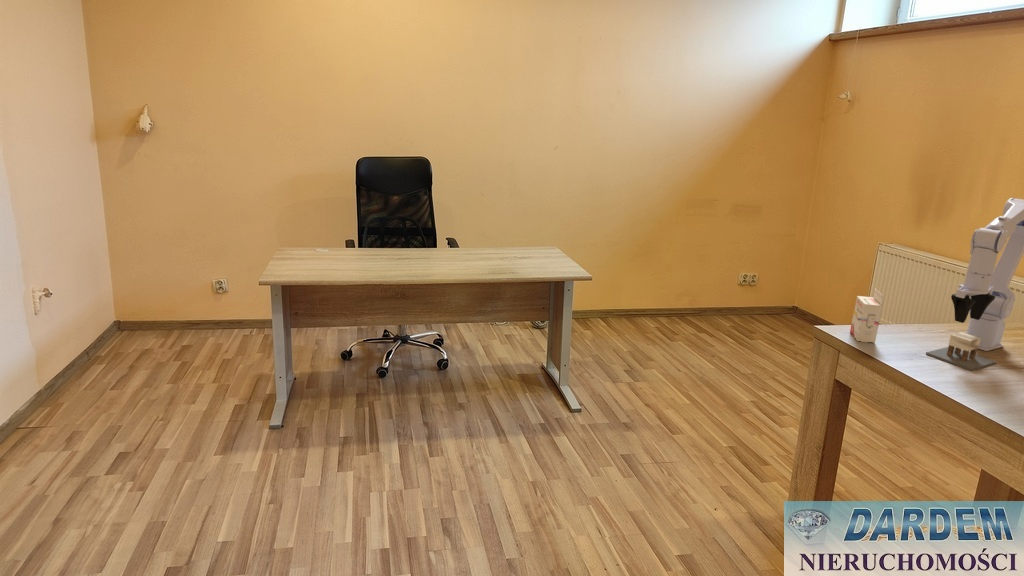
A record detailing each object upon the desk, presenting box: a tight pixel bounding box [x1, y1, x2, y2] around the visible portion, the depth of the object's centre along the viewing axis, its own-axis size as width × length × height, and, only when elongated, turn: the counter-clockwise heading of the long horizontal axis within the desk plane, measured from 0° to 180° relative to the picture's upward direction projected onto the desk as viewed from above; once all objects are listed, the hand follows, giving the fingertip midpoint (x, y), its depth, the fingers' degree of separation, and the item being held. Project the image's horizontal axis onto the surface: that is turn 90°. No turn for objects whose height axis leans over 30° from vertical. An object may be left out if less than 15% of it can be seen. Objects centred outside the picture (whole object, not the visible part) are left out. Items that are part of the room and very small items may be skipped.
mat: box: [925, 346, 997, 371], centre depth 178 cm, size 12×12×1 cm
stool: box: [947, 331, 981, 361], centre depth 177 cm, size 5×5×6 cm
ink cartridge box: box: [849, 287, 884, 344], centre depth 190 cm, size 9×5×15 cm, turn 169°
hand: (967, 320), depth 178 cm, fingers open, 7 cm apart
